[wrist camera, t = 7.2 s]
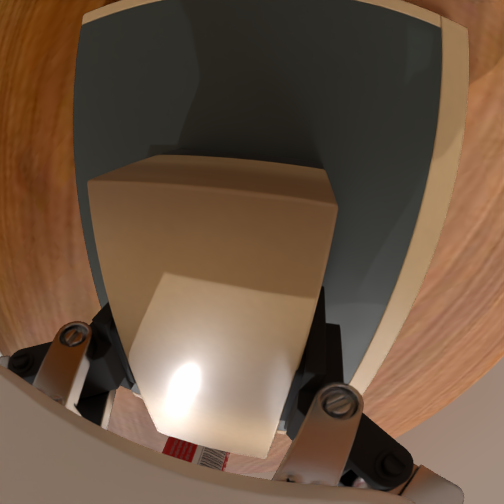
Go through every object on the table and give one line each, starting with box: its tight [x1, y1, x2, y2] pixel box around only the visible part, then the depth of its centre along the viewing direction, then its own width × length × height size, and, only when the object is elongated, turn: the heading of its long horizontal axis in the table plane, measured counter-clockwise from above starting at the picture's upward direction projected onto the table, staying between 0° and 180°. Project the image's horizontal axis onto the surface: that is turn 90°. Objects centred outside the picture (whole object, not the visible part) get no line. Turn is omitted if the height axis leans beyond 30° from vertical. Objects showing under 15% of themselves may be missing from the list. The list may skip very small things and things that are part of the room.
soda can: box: [162, 436, 230, 471], centre depth 16 cm, size 6×6×12 cm
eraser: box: [87, 149, 338, 459], centre depth 9 cm, size 11×5×4 cm, turn 177°
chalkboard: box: [73, 0, 469, 435], centre depth 12 cm, size 24×15×1 cm, turn 177°
